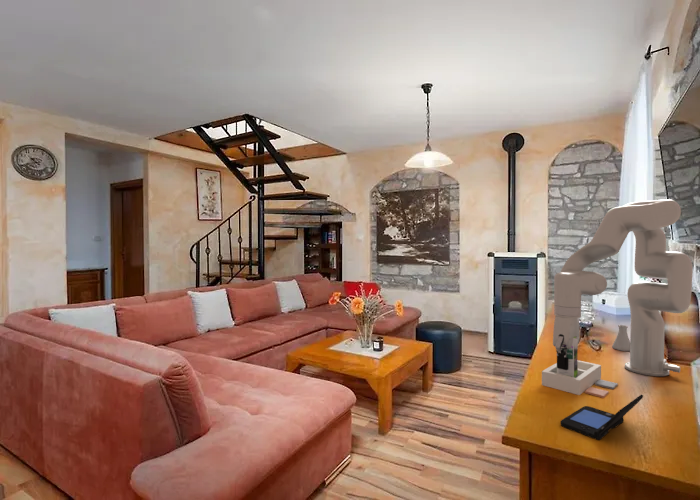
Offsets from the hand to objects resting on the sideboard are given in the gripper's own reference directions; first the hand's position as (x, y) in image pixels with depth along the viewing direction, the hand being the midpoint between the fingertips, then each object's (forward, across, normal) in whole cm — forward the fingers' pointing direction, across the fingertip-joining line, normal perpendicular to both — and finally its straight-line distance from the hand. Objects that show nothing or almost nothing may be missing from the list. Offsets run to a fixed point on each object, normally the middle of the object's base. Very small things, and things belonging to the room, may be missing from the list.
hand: (567, 365), depth 124 cm
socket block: (+6, -5, +3) cm, 8 cm away
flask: (+7, -60, +1) cm, 60 cm away
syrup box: (+5, 0, 0) cm, 5 cm away
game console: (+7, +23, +16) cm, 29 cm away
